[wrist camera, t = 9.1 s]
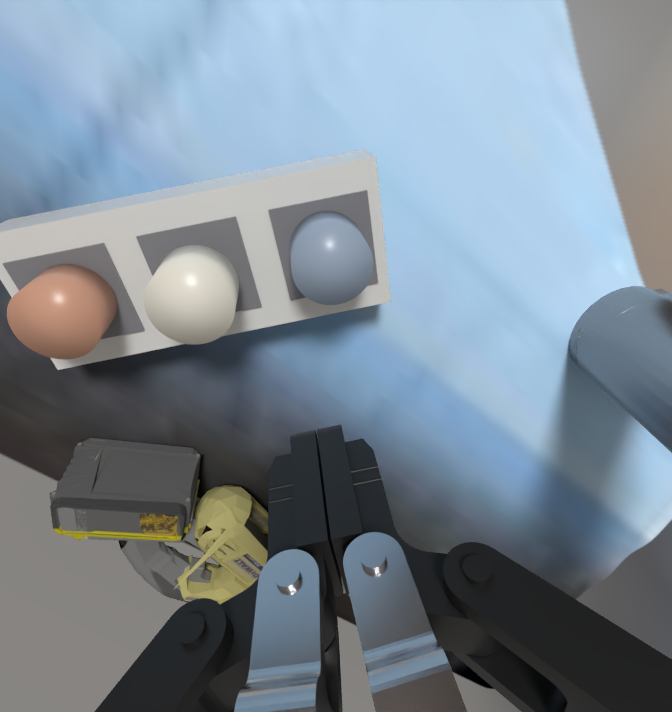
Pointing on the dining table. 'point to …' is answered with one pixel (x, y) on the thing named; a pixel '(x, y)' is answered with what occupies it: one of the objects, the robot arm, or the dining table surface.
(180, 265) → the cream button
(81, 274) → the terracotta button
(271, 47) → the dining table surface
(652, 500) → the dining table surface
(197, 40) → the dining table surface
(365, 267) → the slate button
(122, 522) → the circular saw
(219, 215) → the console
